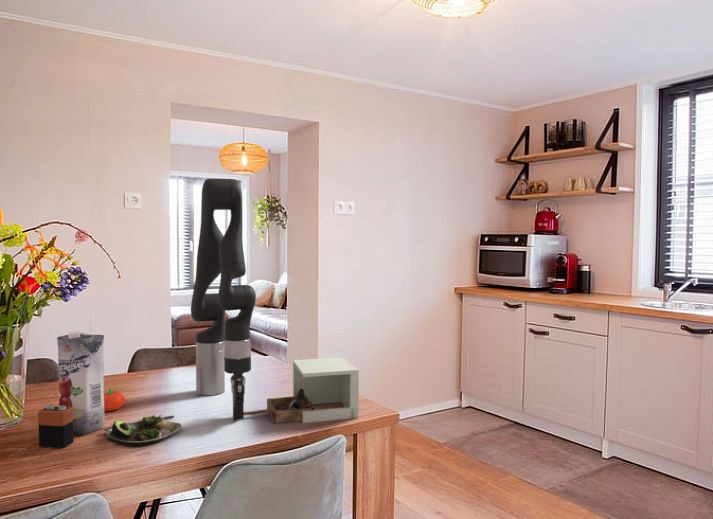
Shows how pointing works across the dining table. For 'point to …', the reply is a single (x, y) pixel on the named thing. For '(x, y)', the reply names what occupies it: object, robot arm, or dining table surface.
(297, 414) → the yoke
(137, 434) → the salad plate
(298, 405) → the eagle figurine
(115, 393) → the tomato
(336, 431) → the dining table surface
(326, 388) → the cubby
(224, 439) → the dining table surface
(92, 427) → the juice carton
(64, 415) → the battery
